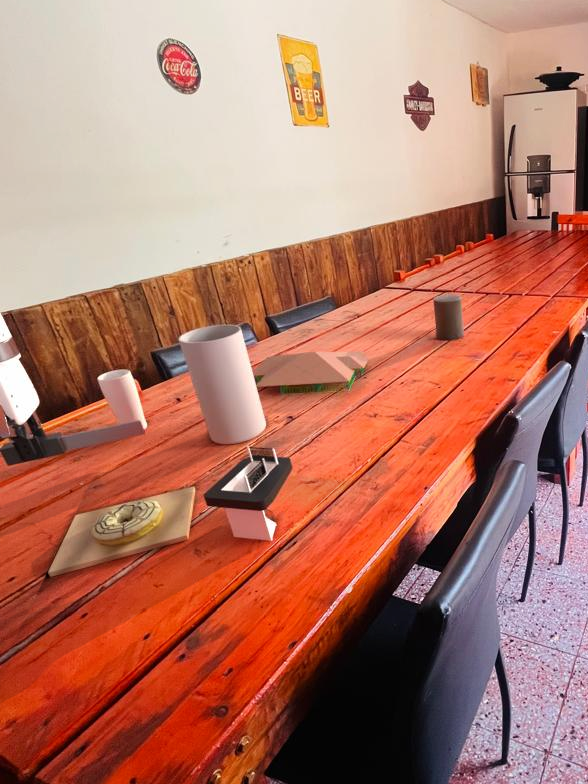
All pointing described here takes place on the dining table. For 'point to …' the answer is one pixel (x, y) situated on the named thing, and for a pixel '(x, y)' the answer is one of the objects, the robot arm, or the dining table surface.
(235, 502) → the black-topped pedestal
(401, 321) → the dining table surface
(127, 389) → the white mug
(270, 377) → the house
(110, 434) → the knife
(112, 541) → the decorated donut
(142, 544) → the cutting board
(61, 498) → the dining table surface
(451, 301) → the pillar candle
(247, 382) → the cylinder vase
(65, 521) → the dining table surface
